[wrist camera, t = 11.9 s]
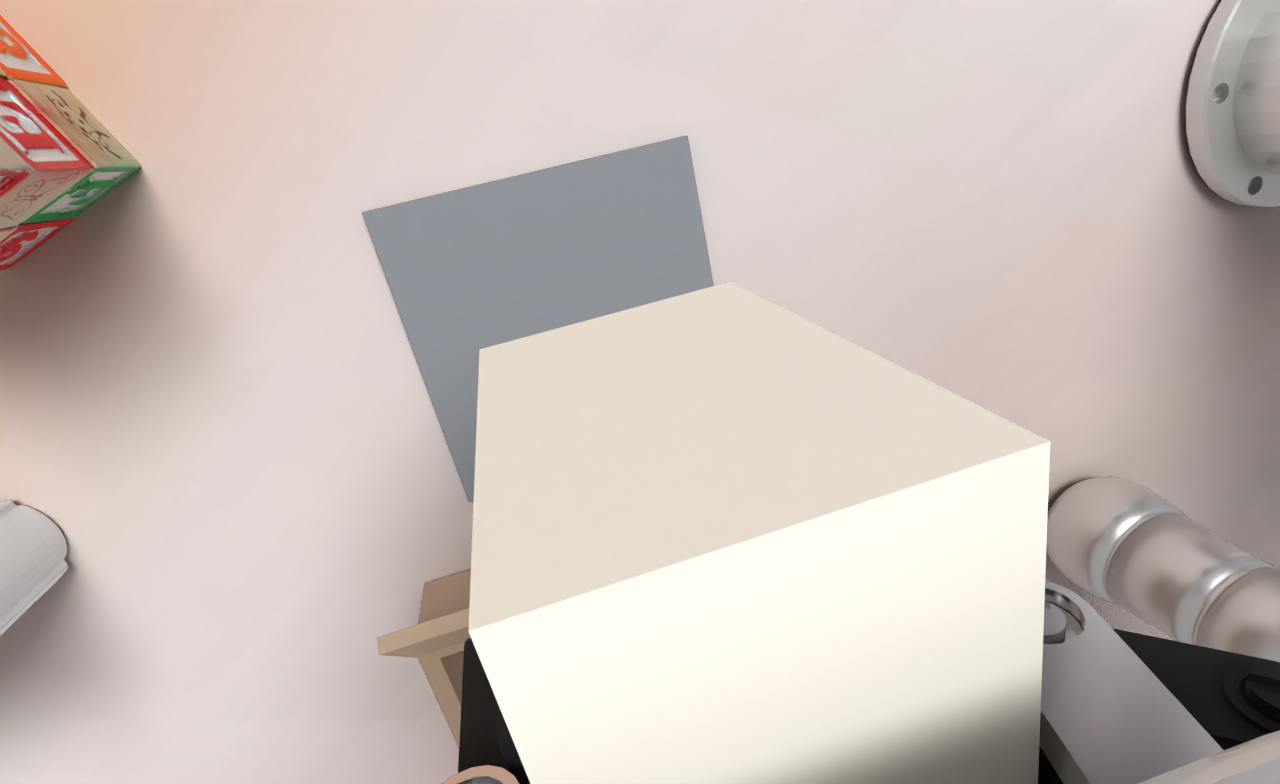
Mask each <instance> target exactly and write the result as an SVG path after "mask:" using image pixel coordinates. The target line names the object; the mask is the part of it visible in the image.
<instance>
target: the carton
mask: <svg viewBox="0 0 1280 784" xmlns="http://www.w3.org/2000/svg"><path fill="white" fill-rule="evenodd" d="M470 580H471V569H469V570H466V571H462V572H459V573H456V574H453V575H450V576H446V577H443V578H440V579H437V580H433V581H430V582H427V583H425V584H424V590H423V597H422V603H421V609H420V616H419V622H418V625H415V626H411V627H408V628H405V629H402V630H399V631H396V632H393V633H389V634H386V635H383V636H380V637H377V641H378V648H379V655H388V656H402V657H418V659H419V661H420V664H421V666H422V668H423V670H424V672H425V675H426V677H427V679H428V681H429V683H430V686H431V688H432V690H433V692H434V694H435V697H436V699H437V701H438V703H439V705H440V708H441V710H442V712H443V714H444V716H445V719H446V721H447V723H448V725H449V727H450V729H451V732H452V734H453V736H454V738H455V740H456V743H457V745H458V747H459V743H460V721H461V700H462V678H463V656H464V645H465V641H466V640H467V639H469V638H471V636H470V634H469V605H470Z"/></svg>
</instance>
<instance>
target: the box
mask: <svg viewBox="0 0 1280 784" xmlns="http://www.w3.org/2000/svg"><path fill="white" fill-rule="evenodd" d="M1049 463H1050V441H1048V440H1046V439H1044V438H1042V437H1040V436H1038V435H1036V434H1034V433H1032V432H1030V431H1028V430H1026V429H1024V428H1022V427H1020V426H1018V425H1016V424H1014V423H1012V422H1011V421H1009V420H1007V419H1005V418H1003V417H1001V416H999V415H997V414H995V413H993V412H991V411H989V410H987V409H985V408H983V407H981V406H979V405H977V404H975V403H973V402H971V401H969V400H967V399H965V398H963V397H961V396H959V395H957V394H955V393H953V392H951V391H949V390H947V389H945V388H943V387H941V386H939V385H937V384H935V383H933V382H931V381H929V380H927V379H925V378H923V377H921V376H919V375H917V374H915V373H913V372H911V371H909V370H907V369H905V368H903V367H901V366H899V365H897V364H895V363H893V362H891V361H889V360H887V359H885V358H883V357H881V356H879V355H877V354H875V353H873V352H871V351H869V350H867V349H865V348H863V347H861V346H859V345H857V344H855V343H853V342H851V341H849V340H847V339H845V338H843V337H841V336H839V335H837V334H835V333H833V332H831V331H829V330H827V329H825V328H823V327H821V326H819V325H817V324H815V323H813V322H811V321H809V320H807V319H805V318H803V317H801V316H799V315H797V314H795V313H793V312H791V311H789V310H787V309H785V308H783V307H781V306H779V305H777V304H775V303H773V302H771V301H769V300H767V299H765V298H763V297H761V296H759V295H757V294H755V293H753V292H751V291H749V290H747V289H745V288H743V287H741V286H739V285H737V284H735V283H733V282H727V283H723V284H720V285H716V286H712V287H709V288H705V289H701V290H697V291H694V292H690V293H686V294H683V295H679V296H675V297H672V298H668V299H664V300H660V301H657V302H653V303H649V304H646V305H642V306H638V307H635V308H631V309H627V310H623V311H620V312H616V313H612V314H609V315H605V316H601V317H598V318H594V319H590V320H586V321H583V322H579V323H575V324H572V325H568V326H564V327H561V328H557V329H553V330H549V331H546V332H542V333H538V334H535V335H531V336H527V337H524V338H520V339H516V340H512V341H509V342H505V343H501V344H498V345H494V346H490V347H487V348H483V349H480V350H479V376H478V401H477V427H476V452H475V478H474V503H473V529H472V554H471V580H470V605H469V634H470V636H471V639H472V641H473V644H474V646H475V649H476V651H477V653H478V656H479V658H480V661H481V663H482V666H483V668H484V671H485V673H486V676H487V678H488V681H489V683H490V685H491V688H492V690H493V693H494V695H495V698H496V700H497V703H498V705H499V708H500V710H501V712H502V715H503V717H504V720H505V722H506V725H507V727H508V730H509V732H510V735H511V737H512V739H513V742H514V744H515V747H516V749H517V752H518V754H519V757H520V759H521V762H522V764H523V766H524V769H525V771H526V774H527V776H528V779H529V781H530V784H1038V769H1039V741H1040V713H1041V685H1042V658H1043V630H1044V602H1045V574H1046V546H1047V519H1048V491H1049Z"/></svg>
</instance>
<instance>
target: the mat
mask: <svg viewBox="0 0 1280 784" xmlns="http://www.w3.org/2000/svg"><path fill="white" fill-rule="evenodd" d="M362 215H363V217H364V220H365V223H366V225H367V228H368V231H369V233H370V236H371V239H372V242H373V244H374V247H375V250H376V252H377V255H378V258H379V260H380V263H381V266H382V269H383V271H384V274H385V277H386V279H387V282H388V285H389V287H390V290H391V293H392V296H393V298H394V301H395V304H396V306H397V309H398V312H399V315H400V317H401V320H402V323H403V325H404V328H405V331H406V333H407V336H408V339H409V342H410V344H411V347H412V350H413V352H414V355H415V358H416V360H417V363H418V366H419V369H420V371H421V374H422V377H423V379H424V382H425V385H426V387H427V390H428V393H429V396H430V398H431V401H432V404H433V406H434V409H435V412H436V414H437V417H438V420H439V423H440V425H441V428H442V431H443V433H444V436H445V439H446V442H447V444H448V447H449V450H450V452H451V455H452V458H453V460H454V463H455V466H456V469H457V471H458V474H459V477H460V479H461V482H462V485H463V487H464V490H465V493H466V496H467V498H468V501H473V500H474V478H475V452H476V427H477V401H478V376H479V350H480V349H483V348H487V347H490V346H494V345H498V344H501V343H505V342H509V341H512V340H516V339H520V338H524V337H527V336H531V335H535V334H538V333H542V332H546V331H549V330H553V329H557V328H561V327H564V326H568V325H572V324H575V323H579V322H583V321H586V320H590V319H594V318H598V317H601V316H605V315H609V314H612V313H616V312H620V311H623V310H627V309H631V308H635V307H638V306H642V305H646V304H649V303H653V302H657V301H660V300H664V299H668V298H672V297H675V296H679V295H683V294H686V293H690V292H694V291H697V290H701V289H705V288H709V287H712V286H714V285H713V280H712V274H711V268H710V262H709V256H708V251H707V245H706V239H705V233H704V227H703V222H702V216H701V210H700V204H699V198H698V193H697V187H696V181H695V175H694V169H693V164H692V158H691V152H690V146H689V140H688V136H683V137H678V138H674V139H670V140H666V141H661V142H657V143H653V144H649V145H644V146H640V147H636V148H632V149H628V150H623V151H619V152H615V153H611V154H606V155H602V156H598V157H594V158H590V159H585V160H581V161H577V162H573V163H568V164H564V165H560V166H556V167H552V168H547V169H543V170H539V171H535V172H530V173H526V174H522V175H518V176H514V177H509V178H505V179H501V180H497V181H492V182H488V183H484V184H480V185H475V186H471V187H467V188H463V189H459V190H454V191H450V192H446V193H442V194H437V195H433V196H429V197H425V198H421V199H416V200H412V201H408V202H404V203H399V204H395V205H391V206H387V207H383V208H378V209H374V210H370V211H366V212H362Z"/></svg>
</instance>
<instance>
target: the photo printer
mask: <svg viewBox="0 0 1280 784" xmlns="http://www.w3.org/2000/svg"><path fill="white" fill-rule="evenodd" d="M66 555H67V545H66V540H65V538H64V536H63V534H62V532H61V531H60V529H59V528H58V526H57V525H56V524H55V523H54V522H53V521H52V520H50V519H49V518H48V517H47V516H45V515H44V514H43V513H41V512H39V511H37V510H35V509H33V508H31V507H28V506H24V505H15V504H14V503H13V502H12V501H3V502H0V636H1V635H2V634H3V633H4V632H5V631H6V630H7V629H8V628H9V627H10V626H11V625H12V624H13V623H14V622H15V621H16V620H17V619H18V618H19V617H20V616H21V615H22V614H24V613H25V612H26V611H27V610H28V609H29V608H30V607H31V606H32V605H33V604H34V603H35V602H36V601H37V600H38V599H39V598H40V597H41V596H42V595H43V594H44V593H45V592H46V591H47V590H48V589H49V588H51V587H52V586H53V585H54V584H55V583H56V582H57V581H58V580H59V579H60V578H61V576H62V575H63V574H64V573H65V572H66V570H67V569H68V564H67V563H66V561H65V560H64V559H65V556H66Z"/></svg>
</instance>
